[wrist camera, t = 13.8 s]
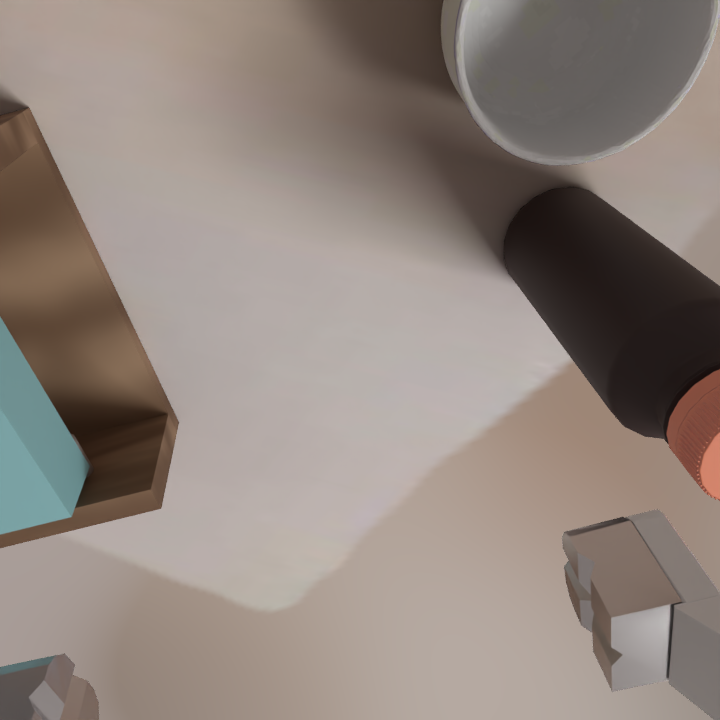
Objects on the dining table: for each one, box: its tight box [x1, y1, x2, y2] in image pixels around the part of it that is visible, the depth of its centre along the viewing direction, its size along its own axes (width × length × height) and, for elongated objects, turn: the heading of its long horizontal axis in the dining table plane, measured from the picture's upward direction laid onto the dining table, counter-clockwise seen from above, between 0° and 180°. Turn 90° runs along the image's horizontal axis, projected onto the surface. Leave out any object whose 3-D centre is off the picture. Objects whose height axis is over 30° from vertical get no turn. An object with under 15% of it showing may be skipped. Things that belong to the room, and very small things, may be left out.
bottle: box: [504, 187, 720, 501], centre depth 31 cm, size 7×7×20 cm
